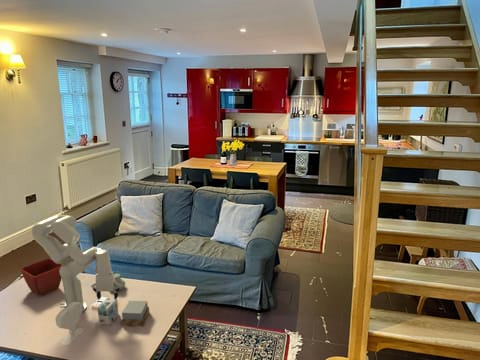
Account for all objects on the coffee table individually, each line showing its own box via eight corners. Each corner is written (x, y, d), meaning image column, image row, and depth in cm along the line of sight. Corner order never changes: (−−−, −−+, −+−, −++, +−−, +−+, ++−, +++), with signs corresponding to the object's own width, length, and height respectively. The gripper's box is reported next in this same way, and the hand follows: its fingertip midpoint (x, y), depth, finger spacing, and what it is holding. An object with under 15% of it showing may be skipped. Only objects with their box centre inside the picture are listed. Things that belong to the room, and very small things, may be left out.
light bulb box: (109, 325, 205) (107, 308, 202) (98, 323, 206) (96, 307, 203) (119, 314, 215) (117, 298, 212) (108, 312, 216) (107, 296, 214)
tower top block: (122, 319, 204) (121, 312, 203) (129, 306, 216) (129, 300, 215) (141, 319, 203) (140, 313, 202) (147, 307, 215) (147, 301, 214)
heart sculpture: (65, 346, 188) (61, 316, 183) (57, 344, 189) (53, 315, 185) (86, 328, 202) (82, 300, 198) (78, 326, 204) (75, 298, 199)
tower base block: (122, 327, 204) (121, 320, 203) (129, 313, 217) (129, 306, 216) (143, 327, 204) (142, 320, 203) (149, 313, 216) (148, 306, 215)
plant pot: (52, 279, 254) (48, 257, 250) (66, 287, 244) (63, 265, 239) (23, 291, 239) (19, 268, 235) (37, 300, 229) (33, 277, 224)
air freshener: (106, 291, 239) (104, 277, 237) (113, 284, 247) (111, 271, 245) (121, 293, 237) (119, 279, 235) (127, 286, 245) (126, 273, 242)
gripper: (86, 274, 199) (90, 302, 204) (117, 274, 199) (120, 301, 203) (92, 268, 207) (95, 294, 211) (121, 267, 206) (124, 294, 210)
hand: (107, 298), depth 207 cm, fingers open, 9 cm apart
